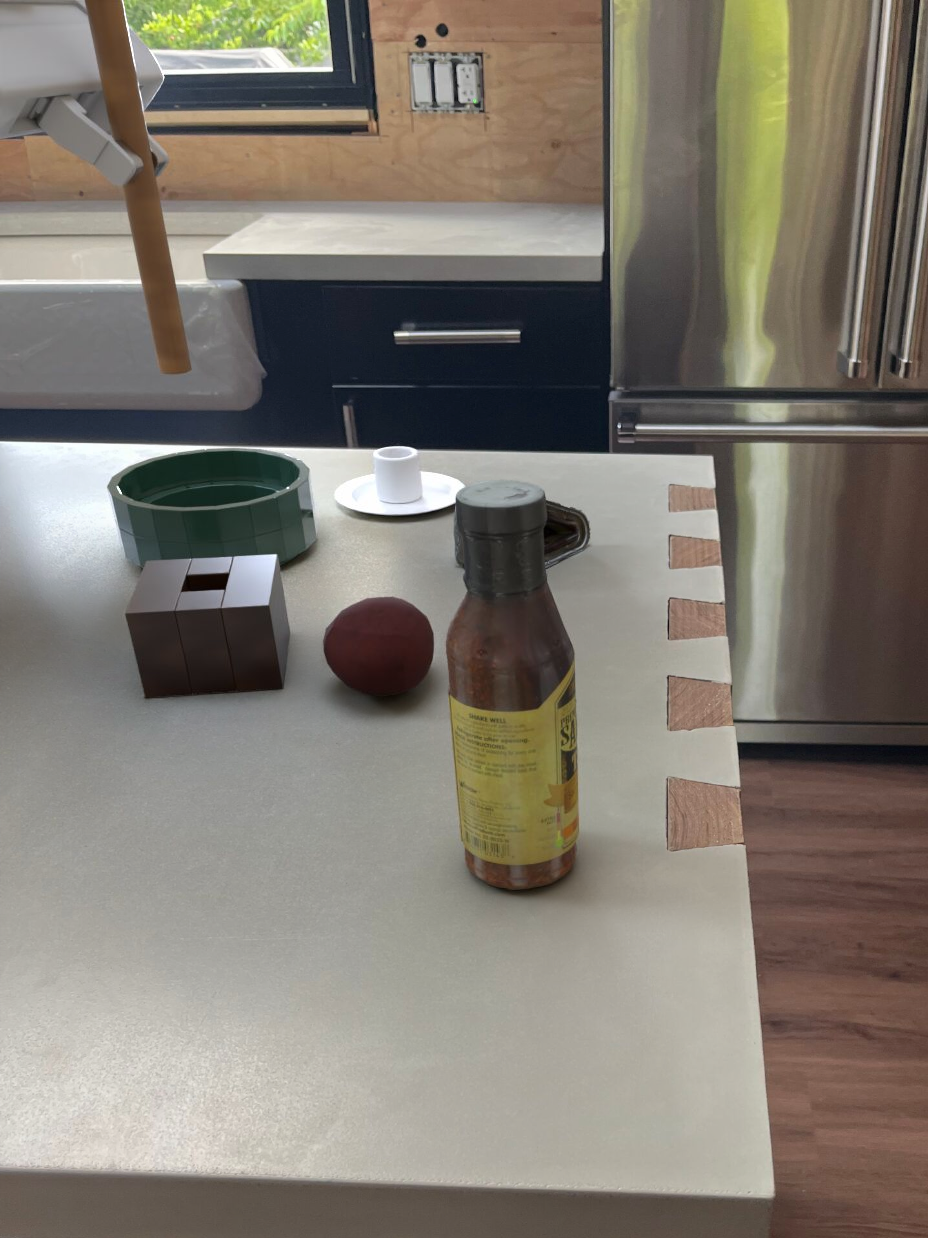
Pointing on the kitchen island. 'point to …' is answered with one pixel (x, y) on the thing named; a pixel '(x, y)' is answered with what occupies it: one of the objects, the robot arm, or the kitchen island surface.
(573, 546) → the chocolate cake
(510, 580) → the sauce bottle
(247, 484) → the bowl
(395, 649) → the potato
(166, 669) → the stick holder
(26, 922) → the kitchen island surface
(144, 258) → the stirring stick
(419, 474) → the candle holder
